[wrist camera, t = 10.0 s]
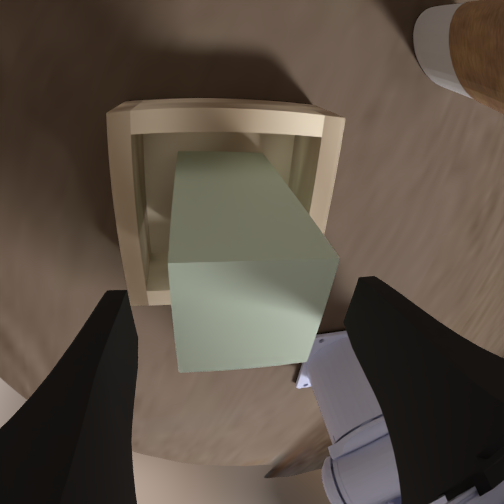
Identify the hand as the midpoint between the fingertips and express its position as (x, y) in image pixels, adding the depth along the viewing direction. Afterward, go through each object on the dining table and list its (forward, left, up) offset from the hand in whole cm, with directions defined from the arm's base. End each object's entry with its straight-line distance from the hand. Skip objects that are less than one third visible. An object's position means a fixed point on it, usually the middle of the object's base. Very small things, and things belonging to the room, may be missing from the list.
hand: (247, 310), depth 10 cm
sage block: (0, 0, -10) cm, 10 cm away
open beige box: (0, 0, -10) cm, 10 cm away
